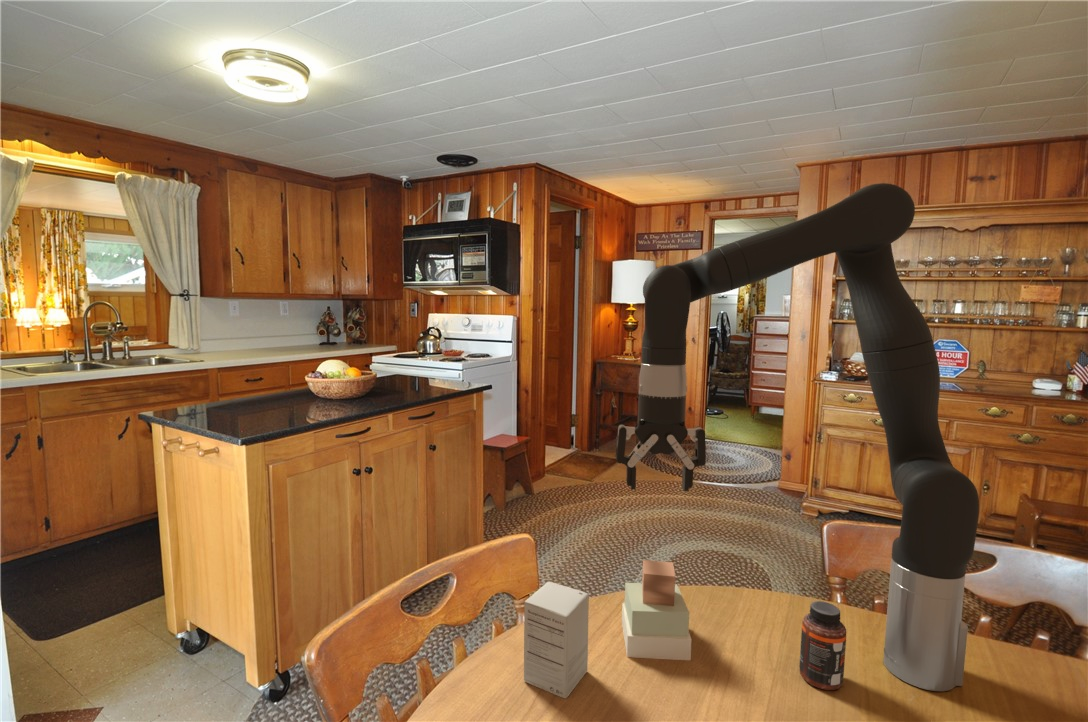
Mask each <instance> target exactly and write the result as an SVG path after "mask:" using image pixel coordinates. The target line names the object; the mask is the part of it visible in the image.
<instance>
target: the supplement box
mask: <svg viewBox="0 0 1088 722" xmlns="http://www.w3.org/2000/svg"><path fill="white" fill-rule="evenodd" d="M589 596H590V594H589V593H587V592H585V591H582V590H579V589H576V588H572V587H568V586H566V585H561V584H560V583H555V582H552V581H547V582H546V583H545V584H544V585H542V586H541V587H540V588H539V589H537V591H535V592H534V593H533V594H532V595H530V596H529V597H528V598H527V599H526V600H524V610H523V611H524V614H523V615H524V620H523V621H524V622H523V623H524V625H523V626H524V628H523V629H524V630H523V635H524V636H523V681H524V682H525V683H527V684H529V685H531V686H534V687H537V688H538V689H541V690H544V691H545V692H547V693H551V694H552V695H555V696H557V697H559V698H563V699H568V697H569V695H570V694H571V693H572V692H573V691H574V689H575V688H576V687H577V686H578V683H580V682H581V680H582V679H583V677H584V676H585V675H586V673H587V672H588V670H589V669H588V665H589V664H588V662H589V661H588V660H589V658H588V656H589V655H588V654H589V649H588V648H589V609H590V607H589V606H590V603H589V602H590V597H589Z"/></svg>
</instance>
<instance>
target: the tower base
mask: <svg viewBox="0 0 1088 722" xmlns="http://www.w3.org/2000/svg"><path fill="white" fill-rule="evenodd" d="M621 604H622V605H621V607H622V610H621V625H622V631H623V638H624V645H625V652H626V657H627V658H637V659H639V658H640V659H641V658H642V659H657V660H675V661H676V660H677V661H691V658H692V637H691V634H690V631H689V632H688V637H686V636H654V635H632V634H631V630H630V626H629V621H628V617H627V613H626V608H625V602H622V603H621Z"/></svg>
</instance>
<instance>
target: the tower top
mask: <svg viewBox="0 0 1088 722" xmlns="http://www.w3.org/2000/svg"><path fill="white" fill-rule="evenodd" d="M624 603H625V608H626V613H627V617H628V621H629V626H630V630H631V634H632V635H654V636H686V637H688V632H689V633H690V630H689V629H690V628H689V627H690V611H689V609H688V607H687V604H686V602H685V599H684V598H683V595H682V593H681V590H680V588H679V585H678V584H677V583H675V598H674V606H666V605H656V604H647V603H643V598H642V582H625V583H624Z"/></svg>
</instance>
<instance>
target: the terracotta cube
mask: <svg viewBox="0 0 1088 722" xmlns="http://www.w3.org/2000/svg"><path fill="white" fill-rule="evenodd" d="M641 583H642V598H643V603H647V604H656V605H666V606H674V598H675V584H676V572H675V567H674V562H672V561H671V562H670V561H660V560H659V561H658V560H647V559H643V560H642V582H641Z"/></svg>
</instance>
